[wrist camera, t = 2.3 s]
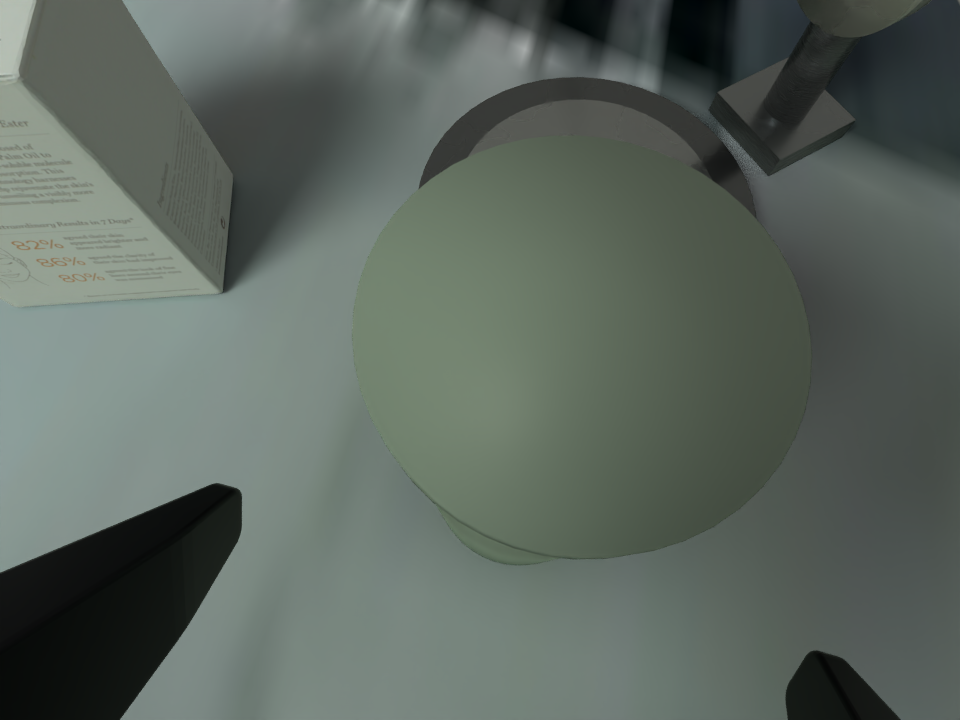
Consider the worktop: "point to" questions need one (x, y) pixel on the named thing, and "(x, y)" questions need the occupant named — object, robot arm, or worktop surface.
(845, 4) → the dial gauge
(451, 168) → the canister
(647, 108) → the platter
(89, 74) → the small box
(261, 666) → the worktop surface
